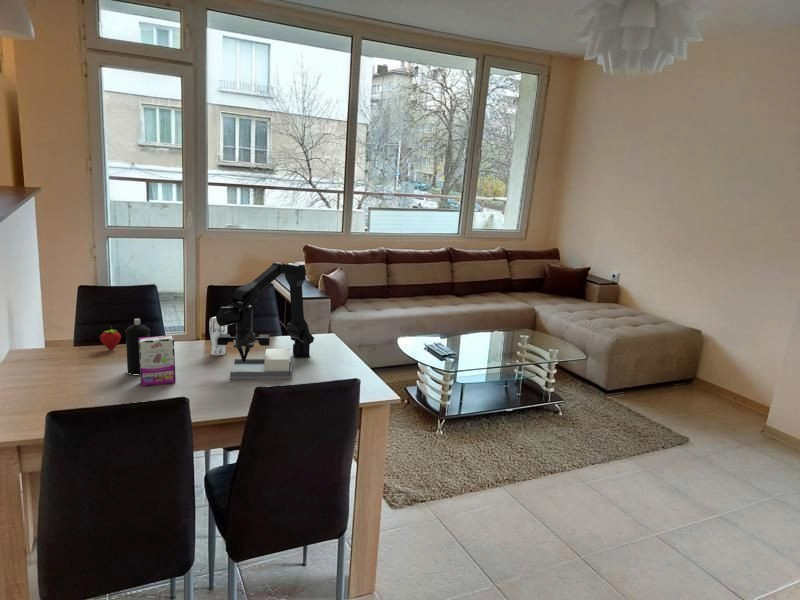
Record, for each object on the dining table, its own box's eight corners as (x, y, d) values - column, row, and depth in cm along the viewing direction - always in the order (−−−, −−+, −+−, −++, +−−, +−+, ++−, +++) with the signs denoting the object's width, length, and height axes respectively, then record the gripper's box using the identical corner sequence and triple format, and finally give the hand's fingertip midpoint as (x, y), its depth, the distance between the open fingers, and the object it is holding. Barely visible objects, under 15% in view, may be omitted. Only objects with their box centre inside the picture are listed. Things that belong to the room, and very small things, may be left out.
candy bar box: (174, 378, 192) (173, 334, 188) (175, 383, 188) (174, 338, 184) (140, 382, 187) (138, 337, 183) (140, 387, 182) (138, 341, 179)
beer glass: (221, 357, 217) (221, 321, 214) (206, 355, 218) (205, 319, 215) (230, 352, 224) (230, 317, 220) (215, 350, 225) (215, 315, 222)
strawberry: (100, 348, 217) (99, 325, 215) (121, 347, 221) (120, 323, 219) (100, 353, 212) (99, 328, 210) (121, 351, 216) (120, 327, 214)
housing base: (291, 364, 214) (292, 357, 213) (291, 379, 198) (291, 371, 198) (234, 364, 209) (234, 356, 209) (230, 379, 194) (230, 371, 193)
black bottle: (156, 370, 198) (154, 318, 194) (137, 377, 191) (135, 323, 186) (140, 366, 201) (138, 315, 197) (121, 372, 194) (119, 319, 189)
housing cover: (289, 362, 212) (289, 348, 210) (289, 373, 200) (289, 359, 198) (266, 362, 210) (266, 348, 209) (264, 373, 198) (264, 359, 197)
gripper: (215, 327, 189) (215, 368, 192) (269, 328, 192) (268, 368, 196) (219, 319, 199) (219, 358, 203) (270, 320, 203) (269, 359, 206)
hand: (243, 361), depth 202 cm, fingers closed
